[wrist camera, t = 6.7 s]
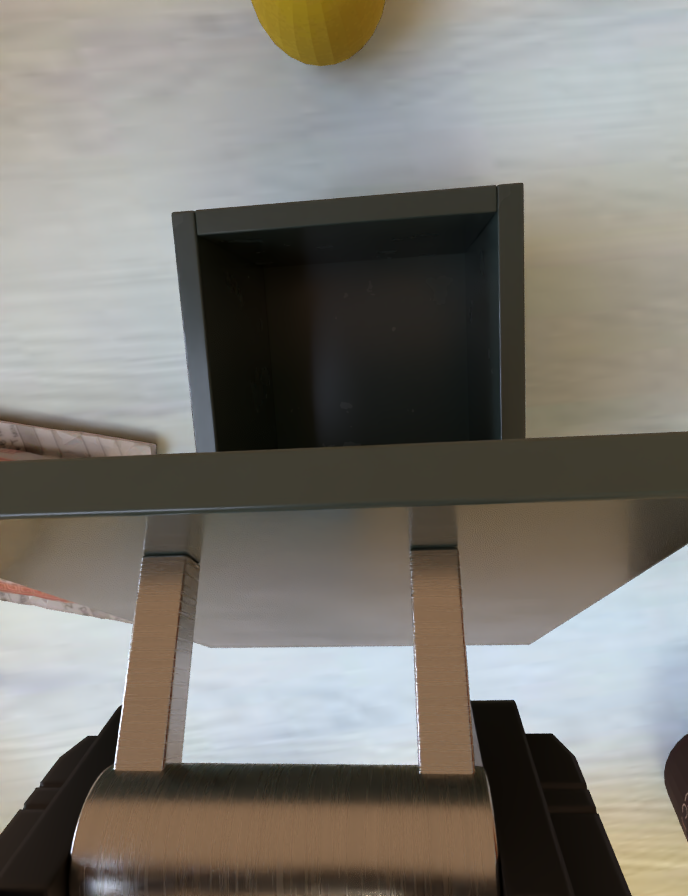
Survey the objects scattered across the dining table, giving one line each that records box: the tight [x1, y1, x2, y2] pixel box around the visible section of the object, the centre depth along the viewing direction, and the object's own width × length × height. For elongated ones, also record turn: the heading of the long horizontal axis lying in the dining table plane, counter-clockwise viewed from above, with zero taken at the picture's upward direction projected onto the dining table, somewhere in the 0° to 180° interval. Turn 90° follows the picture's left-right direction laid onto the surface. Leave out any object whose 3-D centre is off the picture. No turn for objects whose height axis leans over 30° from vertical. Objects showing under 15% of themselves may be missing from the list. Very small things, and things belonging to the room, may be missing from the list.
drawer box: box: [172, 183, 525, 453], centre depth 26 cm, size 15×11×11 cm
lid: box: [0, 432, 688, 896], centre depth 13 cm, size 16×11×5 cm
